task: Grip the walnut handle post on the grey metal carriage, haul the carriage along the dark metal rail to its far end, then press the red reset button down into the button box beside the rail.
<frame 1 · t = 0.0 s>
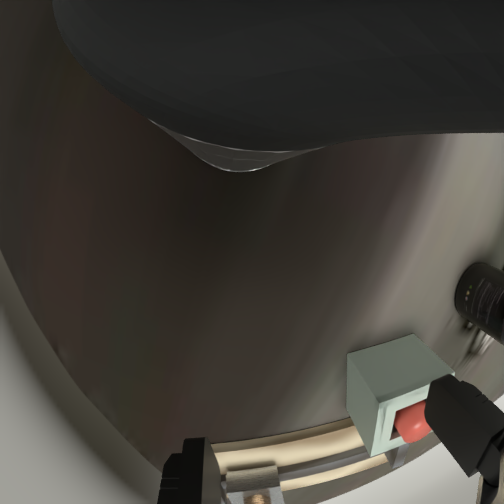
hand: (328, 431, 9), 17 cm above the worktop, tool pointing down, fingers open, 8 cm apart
reset button: (411, 415, 22), point 8 cm above the worktop, slide at 0.0 cm
supplement bottle: (471, 288, 28), on the worktop
button box: (379, 373, 29), on the worktop
rail track: (306, 456, 32), on the worktop
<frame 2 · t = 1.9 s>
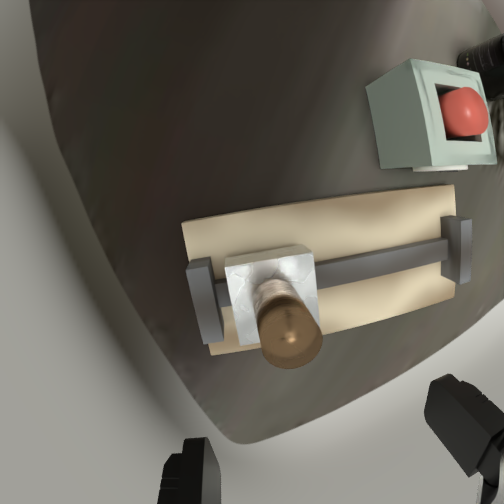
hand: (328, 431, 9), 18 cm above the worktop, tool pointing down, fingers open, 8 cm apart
carriage: (277, 307, 20), point 7 cm above the worktop, slide at 0.0 cm
reset button: (457, 113, 17), point 8 cm above the worktop, slide at 0.0 cm
supplement bottle: (473, 77, 24), on the worktop
button box: (407, 126, 24), on the worktop
rail track: (341, 263, 27), on the worktop
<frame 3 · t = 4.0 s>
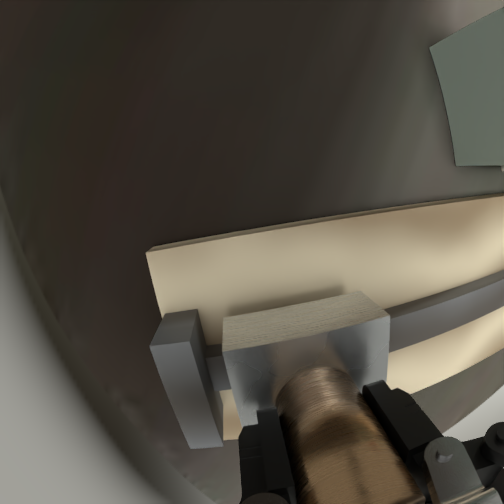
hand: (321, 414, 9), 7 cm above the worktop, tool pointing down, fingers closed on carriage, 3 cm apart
carriage: (323, 418, 9), point 7 cm above the worktop, slide at 0.0 cm, touching gripper
button box: (482, 109, 14), on the worktop
rail track: (400, 307, 16), on the worktop
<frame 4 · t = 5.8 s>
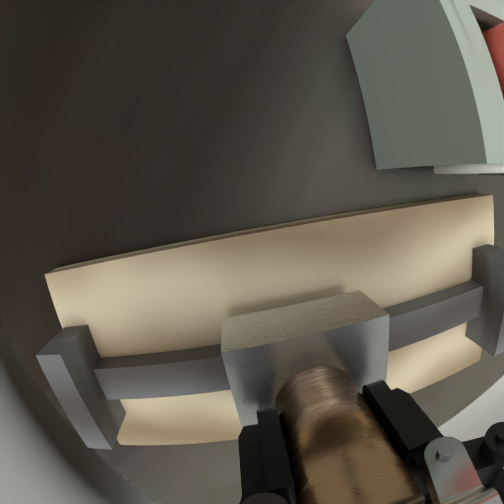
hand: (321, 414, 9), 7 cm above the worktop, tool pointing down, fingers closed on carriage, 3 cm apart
carriage: (323, 418, 9), point 7 cm above the worktop, slide at 6.0 cm, touching gripper
button box: (420, 99, 14), on the worktop
rail track: (306, 330, 16), on the worktop
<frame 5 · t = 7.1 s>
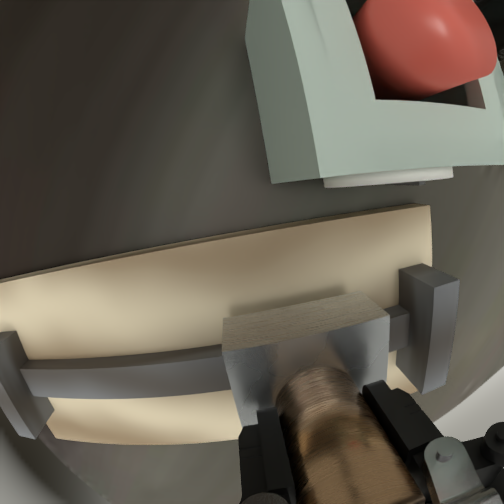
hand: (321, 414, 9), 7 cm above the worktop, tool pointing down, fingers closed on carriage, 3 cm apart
carriage: (323, 418, 9), point 7 cm above the worktop, slide at 11.8 cm, touching gripper
reset button: (413, 39, 6), point 8 cm above the worktop, slide at 0.0 cm
supplement bottle: (463, 26, 13), on the worktop
button box: (334, 99, 14), on the worktop
rail track: (202, 349, 16), on the worktop
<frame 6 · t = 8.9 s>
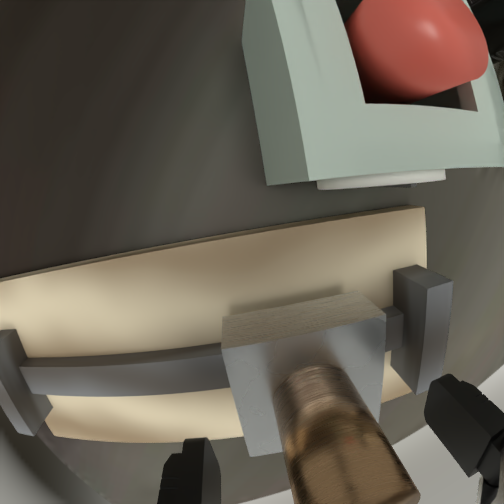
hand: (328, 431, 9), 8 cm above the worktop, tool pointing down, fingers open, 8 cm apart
carriage: (320, 415, 9), point 7 cm above the worktop, slide at 12.0 cm
reset button: (405, 43, 6), point 8 cm above the worktop, slide at 0.0 cm
supplement bottle: (460, 28, 13), on the worktop
button box: (329, 101, 14), on the worktop
rail track: (199, 348, 16), on the worktop
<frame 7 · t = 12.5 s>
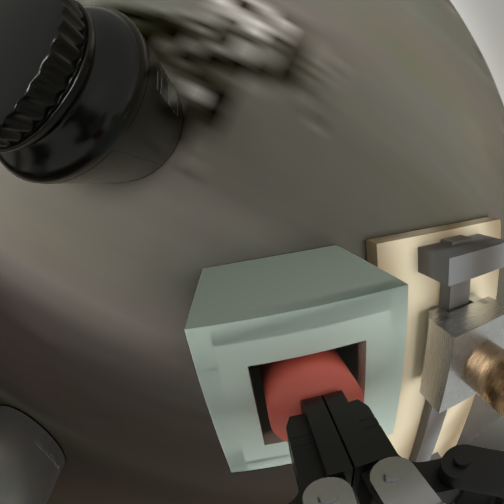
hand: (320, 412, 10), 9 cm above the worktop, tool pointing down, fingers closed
carriage: (489, 370, 13), point 7 cm above the worktop, slide at 12.0 cm
reset button: (306, 383, 12), point 7 cm above the worktop, slide at 0.7 cm, touching gripper
supplement bottle: (128, 127, 16), on the worktop
button box: (280, 318, 18), on the worktop
rail track: (427, 378, 21), on the worktop
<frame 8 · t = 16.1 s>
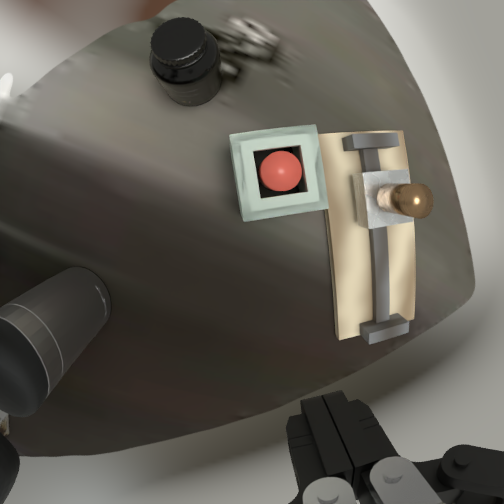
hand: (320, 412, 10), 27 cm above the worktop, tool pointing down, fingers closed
carriage: (394, 198, 29), point 7 cm above the worktop, slide at 12.0 cm
reset button: (278, 172, 28), point 7 cm above the worktop, slide at 1.1 cm
supplement bottle: (193, 82, 31), on the worktop
button box: (269, 175, 34), on the worktop
rail track: (371, 234, 37), on the worktop
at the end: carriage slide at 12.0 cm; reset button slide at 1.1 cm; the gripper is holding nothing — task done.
